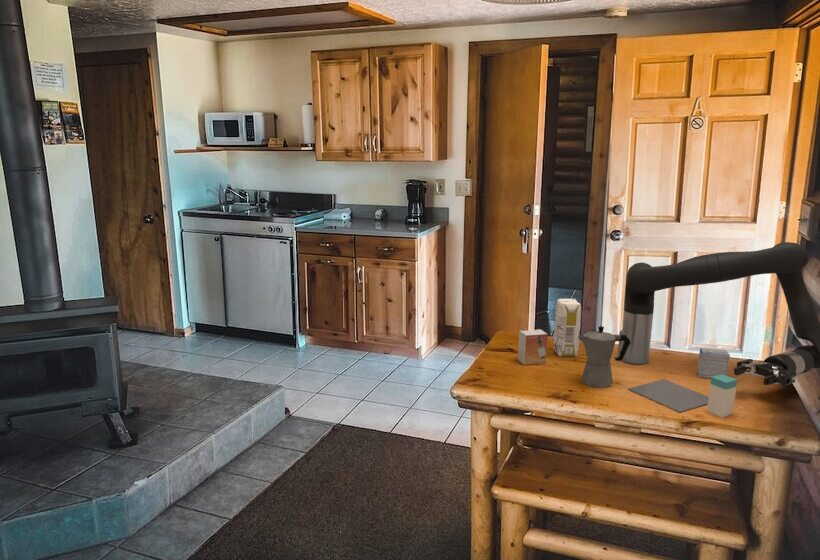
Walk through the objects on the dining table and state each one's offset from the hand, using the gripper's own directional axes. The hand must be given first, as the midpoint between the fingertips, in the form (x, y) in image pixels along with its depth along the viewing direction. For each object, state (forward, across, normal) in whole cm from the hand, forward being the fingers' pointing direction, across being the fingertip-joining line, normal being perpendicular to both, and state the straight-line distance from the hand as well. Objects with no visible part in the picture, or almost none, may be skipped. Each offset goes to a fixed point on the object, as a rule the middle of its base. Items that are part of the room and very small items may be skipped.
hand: (750, 376), depth 168 cm
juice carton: (+15, -56, +8) cm, 59 cm away
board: (+13, -14, +8) cm, 21 cm away
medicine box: (-11, -18, +9) cm, 23 cm away
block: (+11, 0, +8) cm, 14 cm away
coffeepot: (+24, -31, +8) cm, 41 cm away
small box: (+31, -55, +8) cm, 64 cm away
